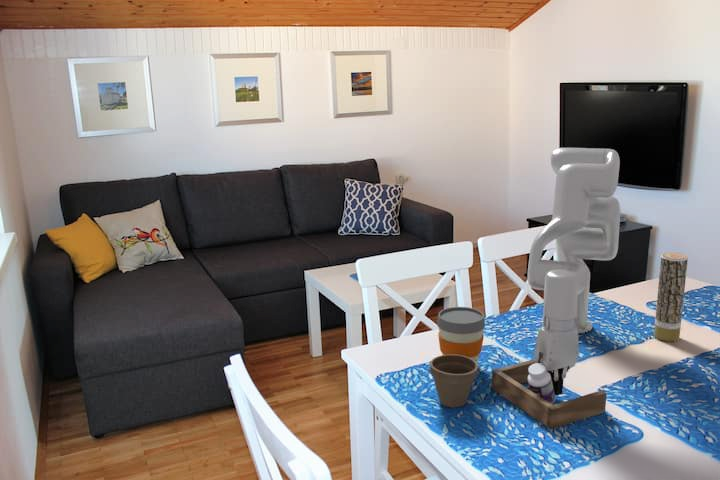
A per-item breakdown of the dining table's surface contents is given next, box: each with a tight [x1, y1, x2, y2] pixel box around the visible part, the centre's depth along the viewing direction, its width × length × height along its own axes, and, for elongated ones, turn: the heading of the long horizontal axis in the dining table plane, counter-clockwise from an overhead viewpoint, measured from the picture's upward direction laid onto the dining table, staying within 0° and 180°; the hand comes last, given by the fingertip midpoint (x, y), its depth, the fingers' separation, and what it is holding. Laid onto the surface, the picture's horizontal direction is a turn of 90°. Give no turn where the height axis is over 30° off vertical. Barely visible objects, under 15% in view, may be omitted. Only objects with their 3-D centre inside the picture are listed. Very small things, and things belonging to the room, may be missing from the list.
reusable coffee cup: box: [436, 306, 486, 365], centre depth 177 cm, size 13×12×15 cm
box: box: [491, 358, 608, 430], centre depth 159 cm, size 22×16×5 cm
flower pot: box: [429, 354, 479, 408], centre depth 159 cm, size 12×11×10 cm
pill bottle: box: [527, 363, 556, 405], centre depth 156 cm, size 5×5×10 cm
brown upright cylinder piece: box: [653, 252, 689, 343], centre depth 190 cm, size 7×7×25 cm
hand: (555, 392), depth 160 cm, fingers closed
